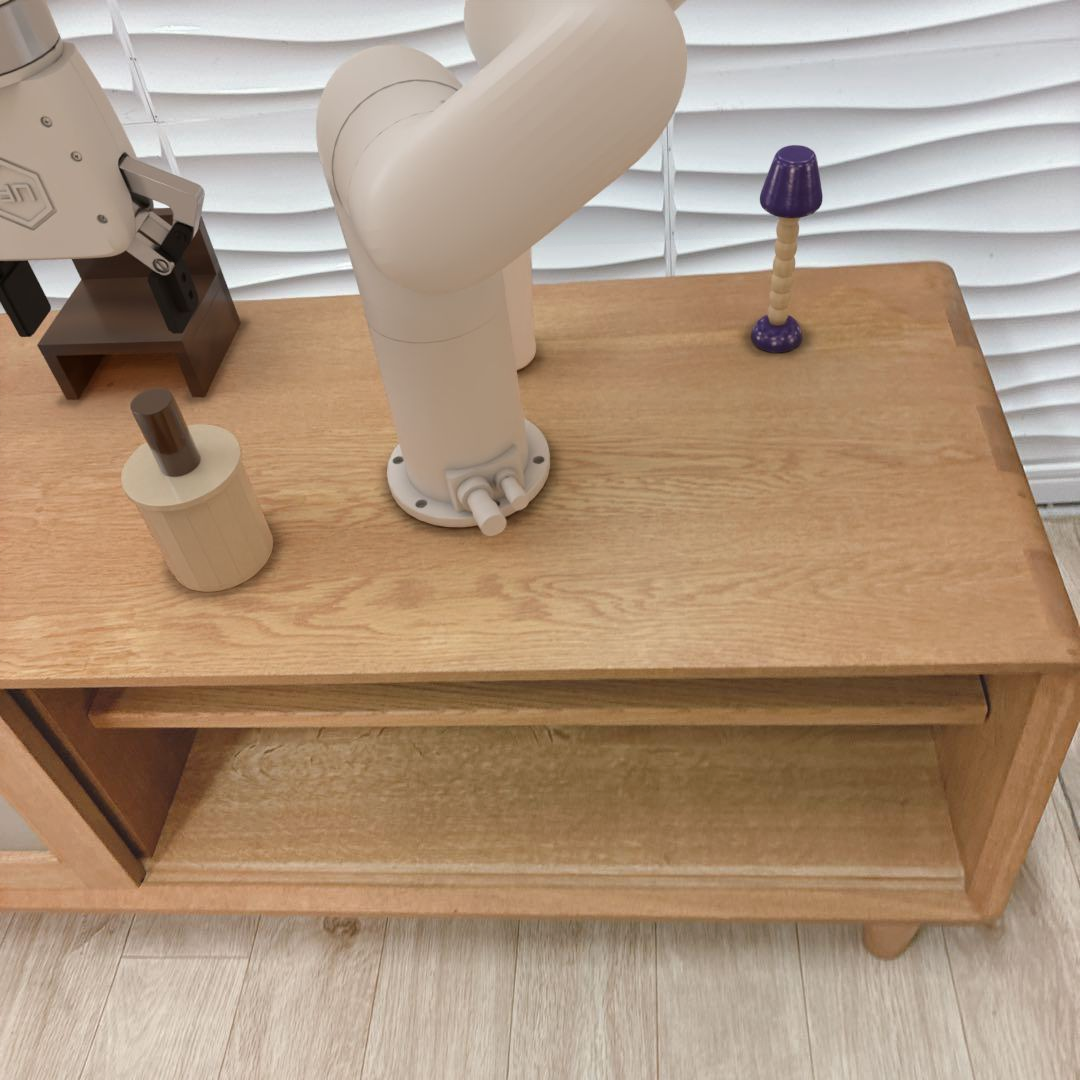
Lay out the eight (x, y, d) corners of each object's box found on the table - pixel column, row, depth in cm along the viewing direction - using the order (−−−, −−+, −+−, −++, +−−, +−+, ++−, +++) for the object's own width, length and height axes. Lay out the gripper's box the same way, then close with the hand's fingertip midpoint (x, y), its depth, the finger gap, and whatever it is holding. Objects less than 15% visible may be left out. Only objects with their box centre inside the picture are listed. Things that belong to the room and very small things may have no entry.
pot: (284, 568, 78) (249, 483, 72) (181, 606, 77) (137, 523, 71) (260, 504, 83) (226, 420, 77) (164, 539, 82) (121, 456, 76)
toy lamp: (807, 322, 92) (824, 135, 80) (810, 355, 89) (829, 166, 77) (750, 323, 93) (758, 139, 81) (751, 357, 89) (760, 169, 77)
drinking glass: (536, 383, 90) (514, 222, 79) (459, 380, 91) (427, 221, 81) (552, 335, 94) (533, 176, 84) (478, 332, 96) (450, 176, 85)
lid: (257, 491, 72) (225, 415, 68) (136, 534, 71) (95, 459, 66) (231, 422, 78) (201, 347, 73) (119, 461, 76) (80, 386, 71)
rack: (205, 396, 94) (155, 278, 85) (66, 400, 95) (3, 284, 87) (240, 322, 101) (198, 206, 92) (111, 326, 103) (58, 213, 94)
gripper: (-224, 77, 52) (-48, 362, 64) (109, 56, 50) (225, 357, 62) (-141, 16, 57) (7, 291, 69) (165, -6, 55) (262, 283, 67)
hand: (110, 322), depth 66 cm, fingers open, 9 cm apart
